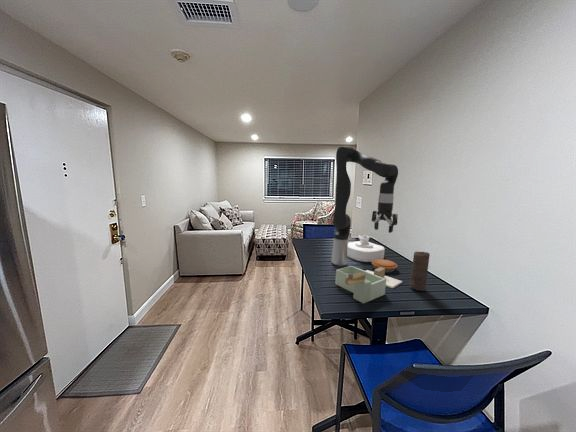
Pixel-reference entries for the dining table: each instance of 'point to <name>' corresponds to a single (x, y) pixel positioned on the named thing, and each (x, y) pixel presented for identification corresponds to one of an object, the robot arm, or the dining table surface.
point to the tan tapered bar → (354, 278)
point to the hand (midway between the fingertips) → (383, 231)
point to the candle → (419, 270)
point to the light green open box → (361, 284)
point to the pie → (384, 264)
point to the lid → (385, 277)
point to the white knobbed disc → (365, 250)
